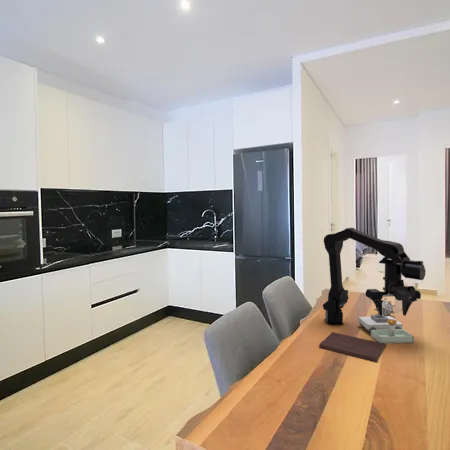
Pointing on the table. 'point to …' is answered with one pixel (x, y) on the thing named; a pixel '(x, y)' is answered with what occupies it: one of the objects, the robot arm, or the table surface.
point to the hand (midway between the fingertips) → (392, 315)
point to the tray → (399, 337)
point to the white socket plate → (377, 322)
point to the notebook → (353, 346)
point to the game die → (386, 308)
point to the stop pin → (391, 327)
